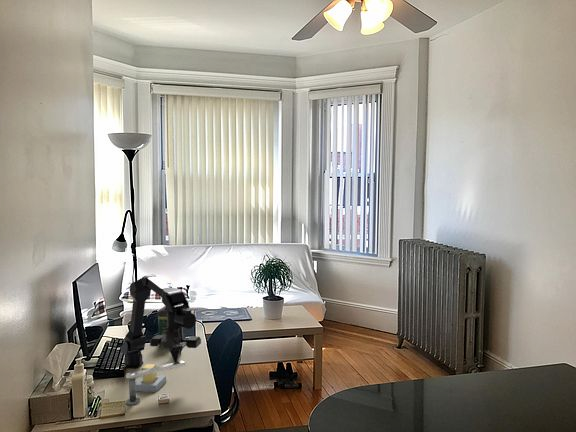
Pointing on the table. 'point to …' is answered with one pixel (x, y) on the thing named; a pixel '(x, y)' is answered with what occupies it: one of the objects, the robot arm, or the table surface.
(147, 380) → the plug
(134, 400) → the post
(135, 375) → the silver metal plank
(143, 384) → the socket
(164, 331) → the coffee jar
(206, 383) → the table surface
